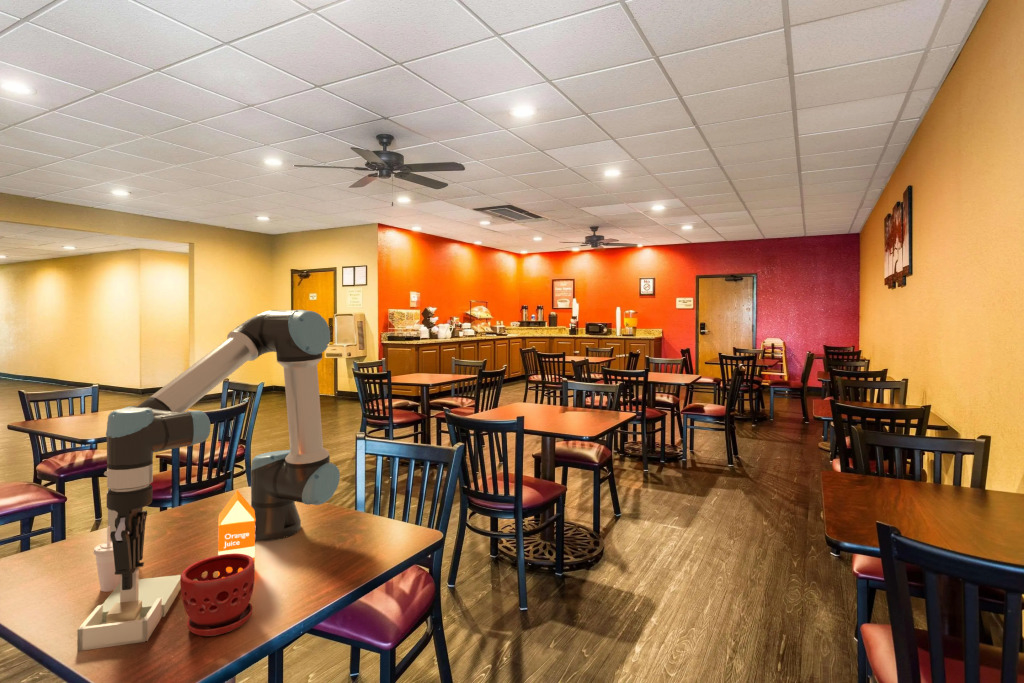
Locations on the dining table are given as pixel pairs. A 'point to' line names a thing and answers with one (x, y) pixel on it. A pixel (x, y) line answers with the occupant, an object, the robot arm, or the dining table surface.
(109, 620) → the tile rear
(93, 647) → the tray
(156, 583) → the board
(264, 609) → the dining table surface
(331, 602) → the dining table surface
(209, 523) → the dining table surface
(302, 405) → the robot arm
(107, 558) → the smoothie
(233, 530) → the orange juice
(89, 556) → the dining table surface
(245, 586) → the plant pot
